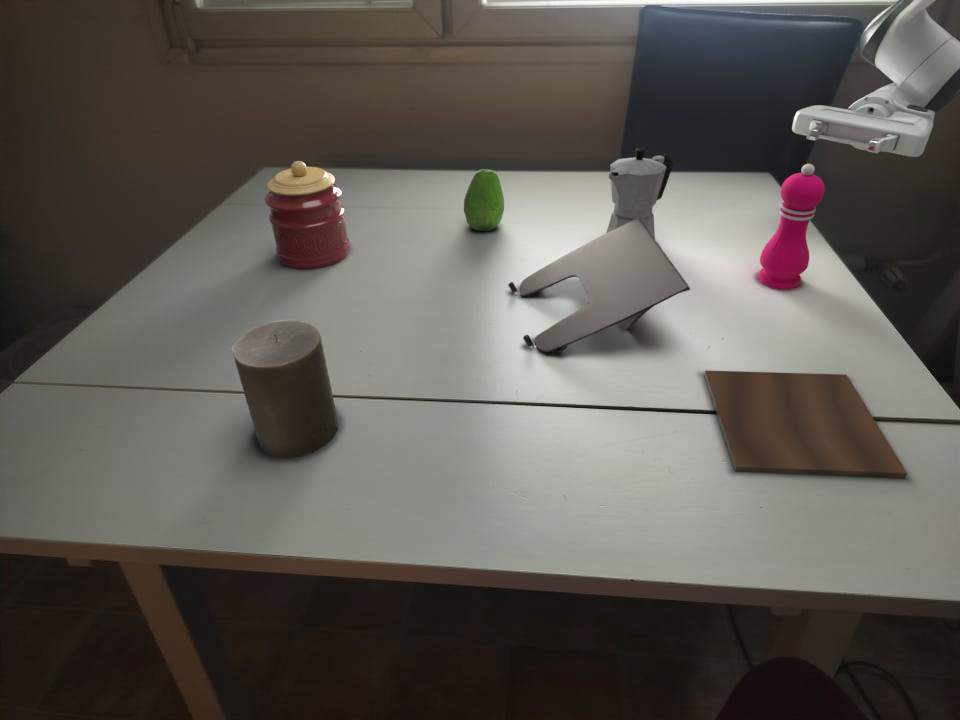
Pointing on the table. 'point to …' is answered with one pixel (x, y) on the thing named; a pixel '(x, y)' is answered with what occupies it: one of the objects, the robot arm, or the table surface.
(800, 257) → the pepper mill
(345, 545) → the table surface
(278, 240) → the kitchen canister
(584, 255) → the laptop tray
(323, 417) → the pillar candle
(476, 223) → the avocado
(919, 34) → the robot arm
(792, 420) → the walnut board
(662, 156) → the coffeepot
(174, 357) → the table surface
